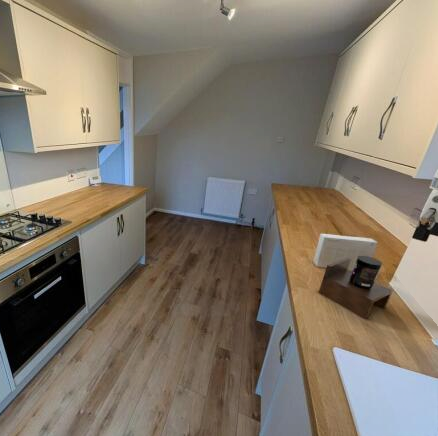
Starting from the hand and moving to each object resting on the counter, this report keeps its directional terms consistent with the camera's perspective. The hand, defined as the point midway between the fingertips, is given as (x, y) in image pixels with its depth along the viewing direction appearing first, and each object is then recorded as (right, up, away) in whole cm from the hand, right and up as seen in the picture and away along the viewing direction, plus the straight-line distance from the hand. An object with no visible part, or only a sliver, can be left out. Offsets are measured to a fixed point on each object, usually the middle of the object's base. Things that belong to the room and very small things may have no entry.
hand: (425, 237), depth 76 cm
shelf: (-10, -26, +17) cm, 32 cm away
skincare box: (+3, -18, +39) cm, 43 cm away
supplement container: (-9, -19, +13) cm, 25 cm away
